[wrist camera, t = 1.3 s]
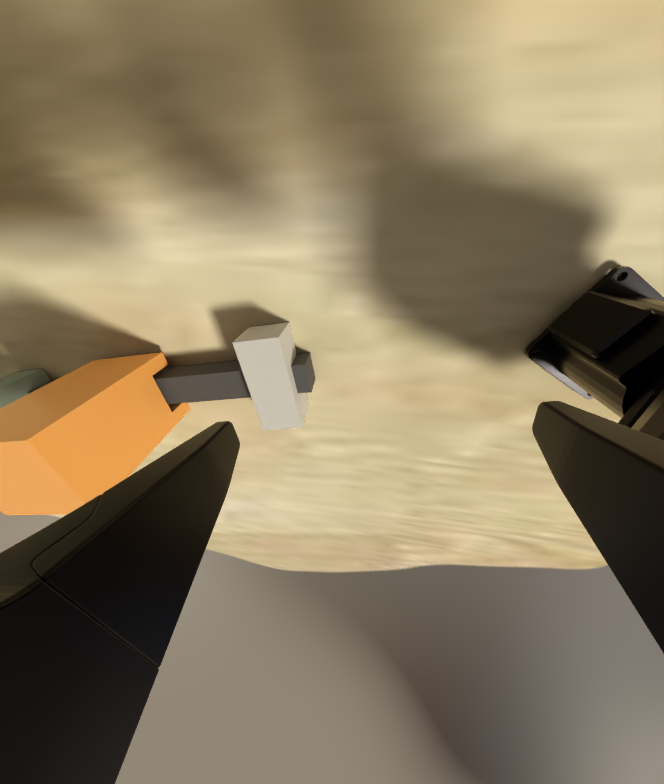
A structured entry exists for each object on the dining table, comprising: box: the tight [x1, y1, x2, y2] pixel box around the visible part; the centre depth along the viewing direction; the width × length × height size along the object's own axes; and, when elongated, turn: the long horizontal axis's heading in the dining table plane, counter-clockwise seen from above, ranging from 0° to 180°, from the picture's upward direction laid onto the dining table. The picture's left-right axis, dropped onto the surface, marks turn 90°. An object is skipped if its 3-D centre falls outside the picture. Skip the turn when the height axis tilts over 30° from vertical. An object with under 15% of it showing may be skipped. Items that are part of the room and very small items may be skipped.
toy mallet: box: [0, 322, 315, 431], centre depth 21 cm, size 26×7×5 cm, turn 99°
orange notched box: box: [0, 352, 190, 515], centre depth 18 cm, size 6×5×10 cm
